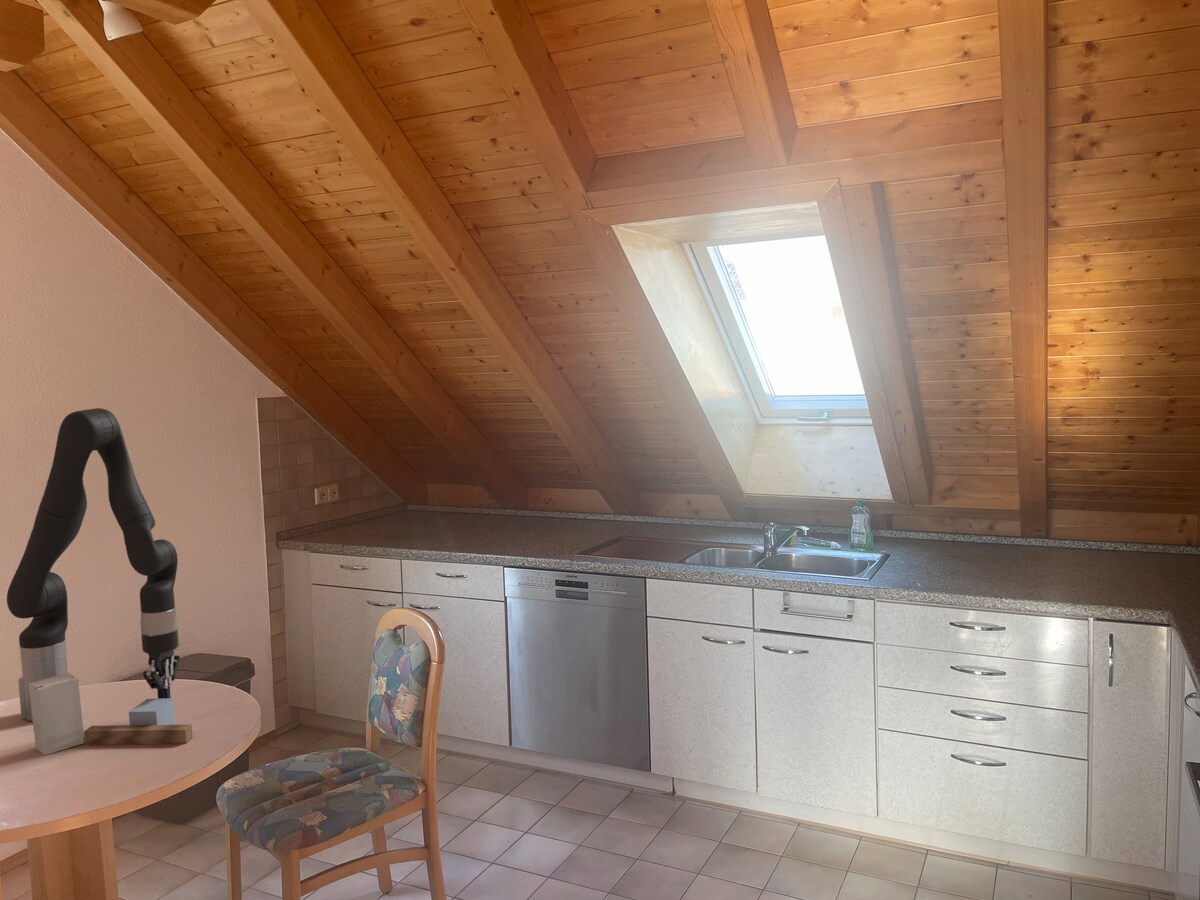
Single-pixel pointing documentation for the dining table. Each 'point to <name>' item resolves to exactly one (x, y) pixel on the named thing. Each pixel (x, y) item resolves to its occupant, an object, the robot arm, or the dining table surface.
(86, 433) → the robot arm
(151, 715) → the block
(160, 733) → the board
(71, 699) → the skincare box
